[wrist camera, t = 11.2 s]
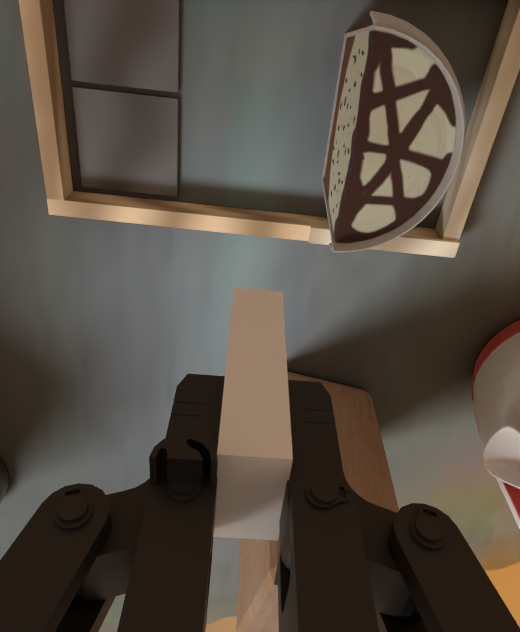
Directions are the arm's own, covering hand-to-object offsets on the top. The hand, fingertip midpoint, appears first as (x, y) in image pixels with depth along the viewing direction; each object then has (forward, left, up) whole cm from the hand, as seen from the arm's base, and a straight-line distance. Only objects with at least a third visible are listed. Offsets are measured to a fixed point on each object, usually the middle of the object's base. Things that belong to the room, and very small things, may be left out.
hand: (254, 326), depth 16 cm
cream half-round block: (+7, +2, -23) cm, 24 cm away
